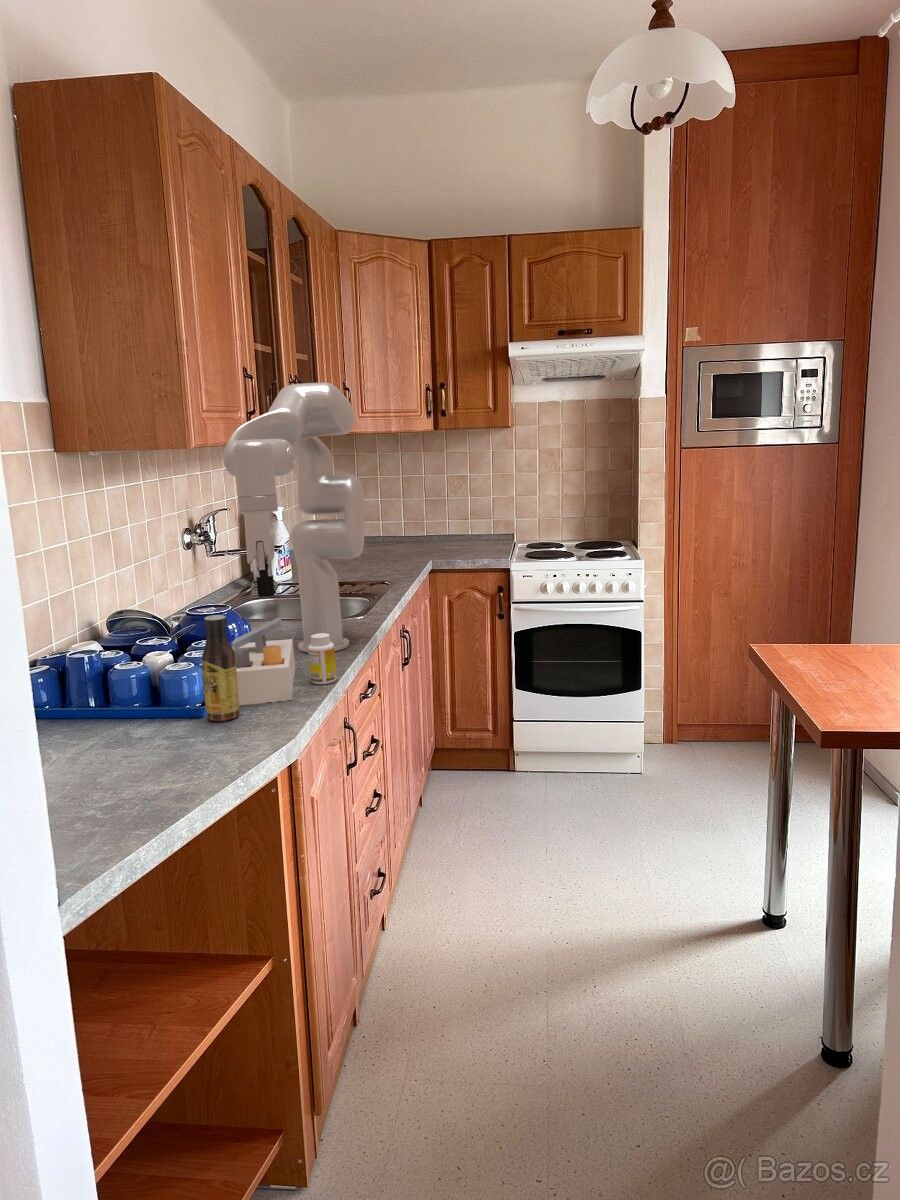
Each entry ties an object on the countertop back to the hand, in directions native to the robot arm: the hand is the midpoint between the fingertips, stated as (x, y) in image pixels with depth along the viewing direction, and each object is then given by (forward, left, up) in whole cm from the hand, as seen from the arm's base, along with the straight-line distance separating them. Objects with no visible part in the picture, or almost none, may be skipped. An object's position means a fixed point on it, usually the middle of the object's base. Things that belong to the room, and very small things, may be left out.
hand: (266, 595), depth 178 cm
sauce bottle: (+12, -9, -21) cm, 26 cm away
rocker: (-12, -3, -11) cm, 17 cm away
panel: (-7, -3, -21) cm, 22 cm away
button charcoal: (0, -6, -18) cm, 19 cm away
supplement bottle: (-7, +10, -21) cm, 24 cm away
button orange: (0, 0, -18) cm, 18 cm away
